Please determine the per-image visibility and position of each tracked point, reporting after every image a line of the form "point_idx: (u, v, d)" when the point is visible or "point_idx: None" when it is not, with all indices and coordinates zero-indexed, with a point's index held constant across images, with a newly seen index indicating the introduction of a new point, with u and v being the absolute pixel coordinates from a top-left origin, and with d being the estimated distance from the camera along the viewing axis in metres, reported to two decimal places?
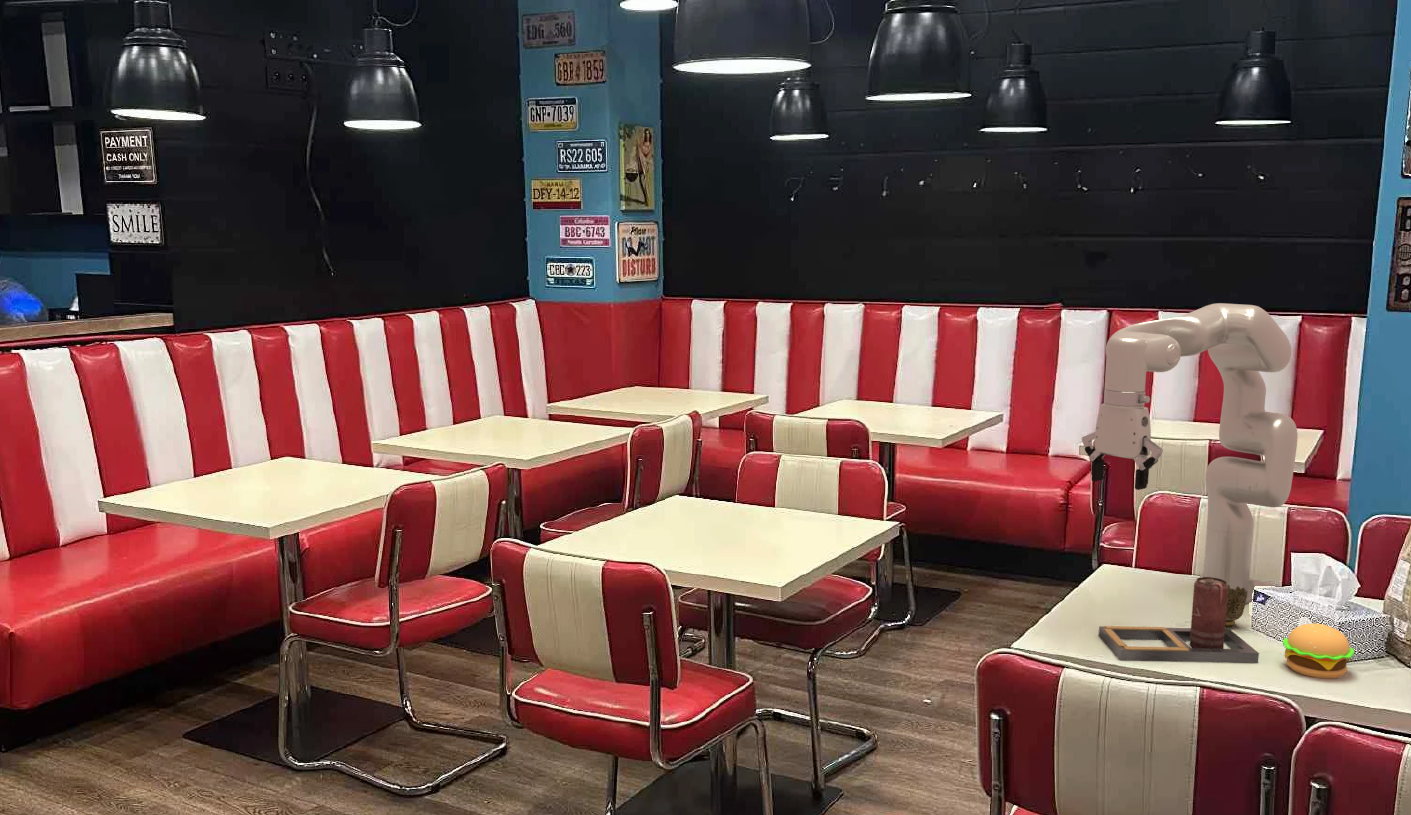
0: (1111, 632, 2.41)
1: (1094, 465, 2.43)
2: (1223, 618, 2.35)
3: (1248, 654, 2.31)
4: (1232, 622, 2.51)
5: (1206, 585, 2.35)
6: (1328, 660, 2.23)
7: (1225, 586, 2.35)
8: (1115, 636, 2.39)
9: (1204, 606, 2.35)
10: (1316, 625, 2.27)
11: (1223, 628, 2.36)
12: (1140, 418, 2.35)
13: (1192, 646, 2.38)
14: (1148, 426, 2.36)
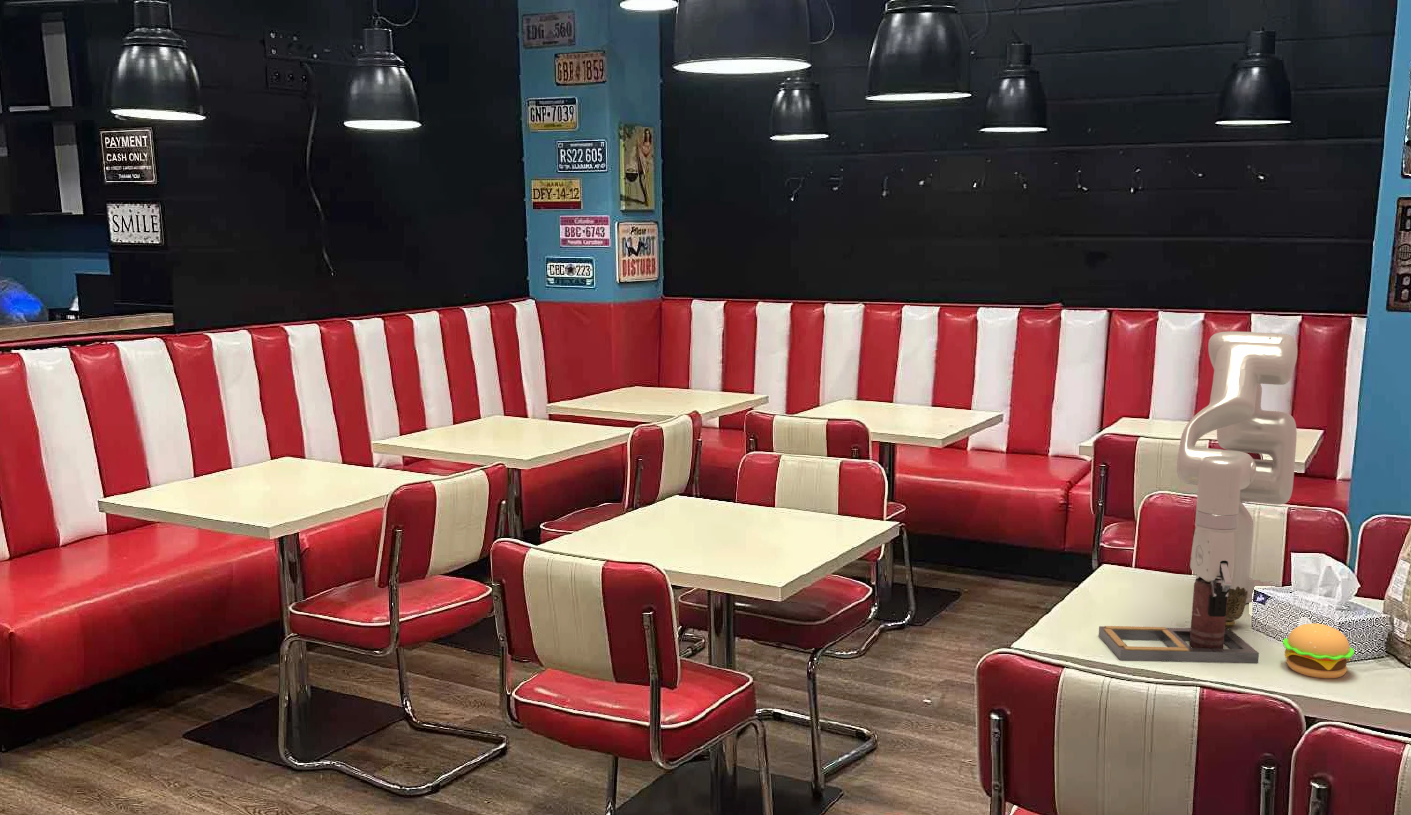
0: (1111, 632, 2.41)
1: None
2: (1223, 618, 2.35)
3: (1248, 654, 2.31)
4: (1232, 622, 2.51)
5: (1206, 585, 2.35)
6: (1328, 660, 2.23)
7: None
8: (1115, 636, 2.39)
9: (1204, 606, 2.35)
10: (1316, 625, 2.28)
11: (1223, 628, 2.36)
12: None
13: (1192, 646, 2.38)
14: None
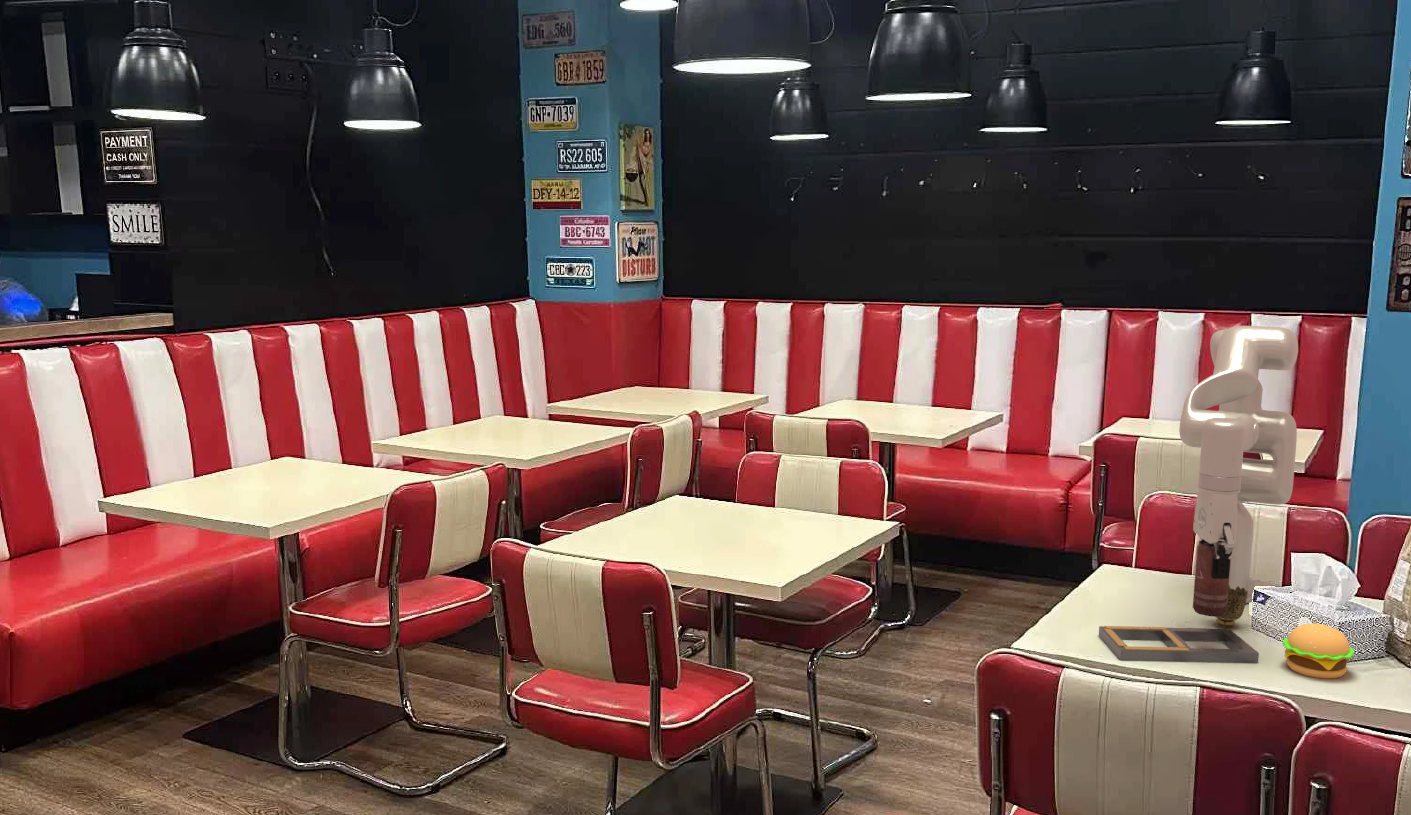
0: (1111, 632, 2.41)
1: None
2: (1226, 580, 2.35)
3: (1248, 654, 2.31)
4: (1232, 622, 2.51)
5: (1209, 547, 2.34)
6: (1328, 660, 2.23)
7: None
8: (1115, 636, 2.39)
9: (1207, 569, 2.34)
10: (1316, 625, 2.27)
11: (1226, 590, 2.35)
12: None
13: (1195, 609, 2.38)
14: None
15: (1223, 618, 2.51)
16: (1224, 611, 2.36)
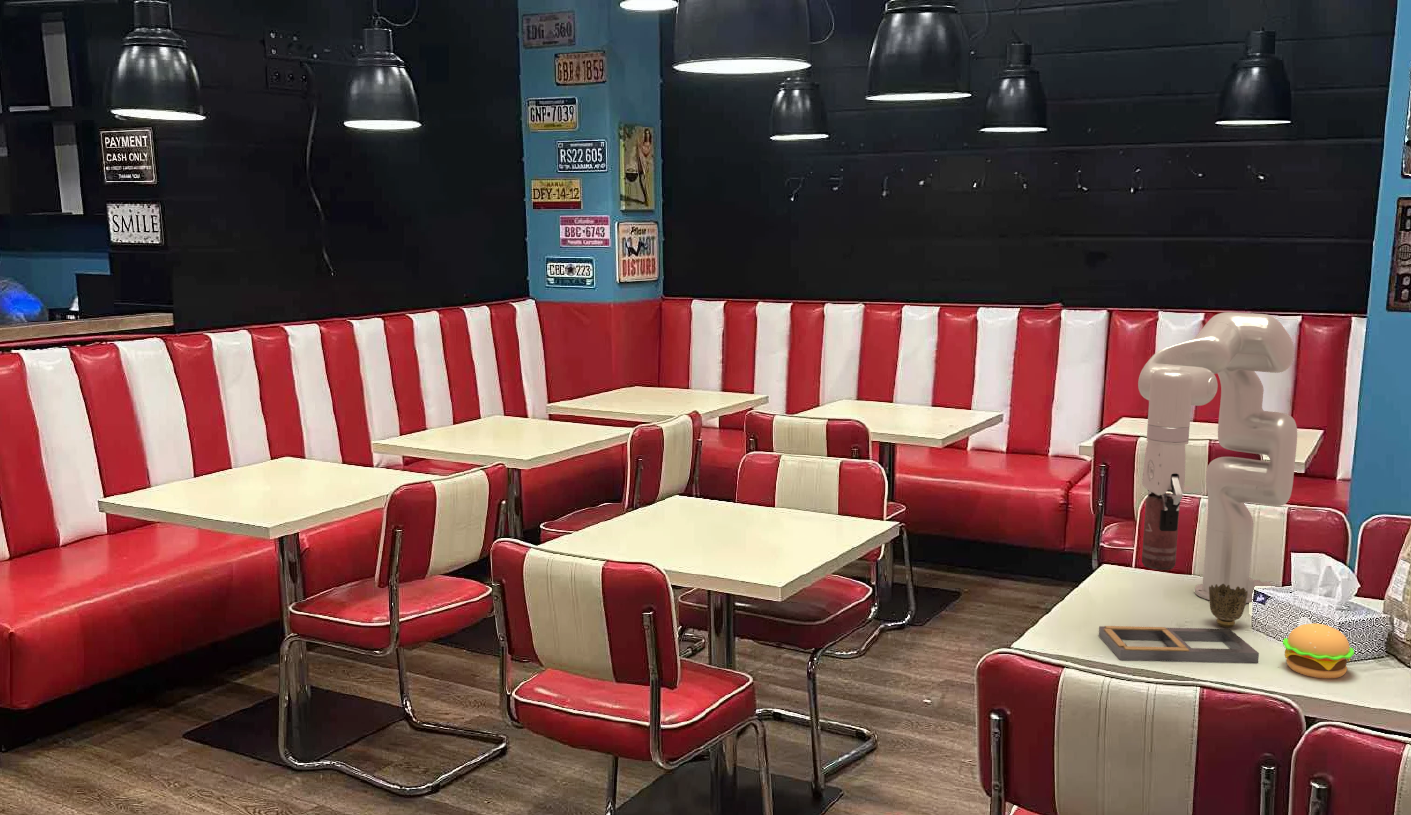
0: (1111, 632, 2.41)
1: None
2: (1175, 533, 2.33)
3: (1248, 654, 2.31)
4: (1232, 622, 2.51)
5: (1157, 500, 2.32)
6: (1328, 660, 2.23)
7: None
8: (1115, 636, 2.39)
9: (1156, 521, 2.33)
10: (1316, 625, 2.27)
11: (1175, 543, 2.34)
12: None
13: (1144, 562, 2.36)
14: None
15: (1223, 618, 2.51)
16: (1173, 564, 2.34)
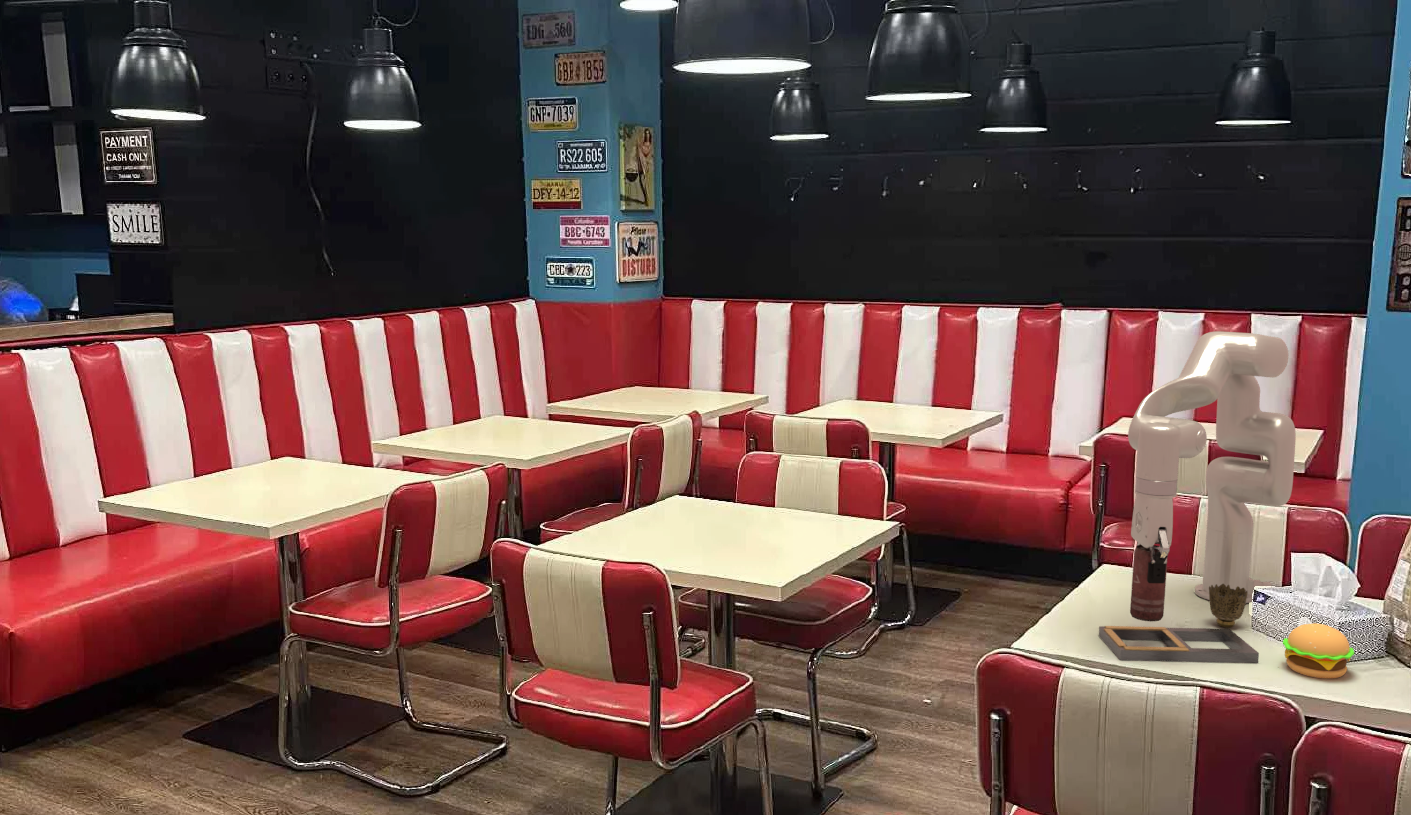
0: (1111, 632, 2.41)
1: None
2: (1162, 585, 2.35)
3: (1248, 654, 2.31)
4: (1232, 622, 2.51)
5: (1145, 552, 2.34)
6: (1328, 660, 2.23)
7: None
8: (1115, 636, 2.39)
9: (1143, 573, 2.34)
10: (1316, 625, 2.27)
11: (1163, 595, 2.35)
12: None
13: (1132, 613, 2.37)
14: None
15: (1223, 618, 2.51)
16: (1160, 616, 2.35)
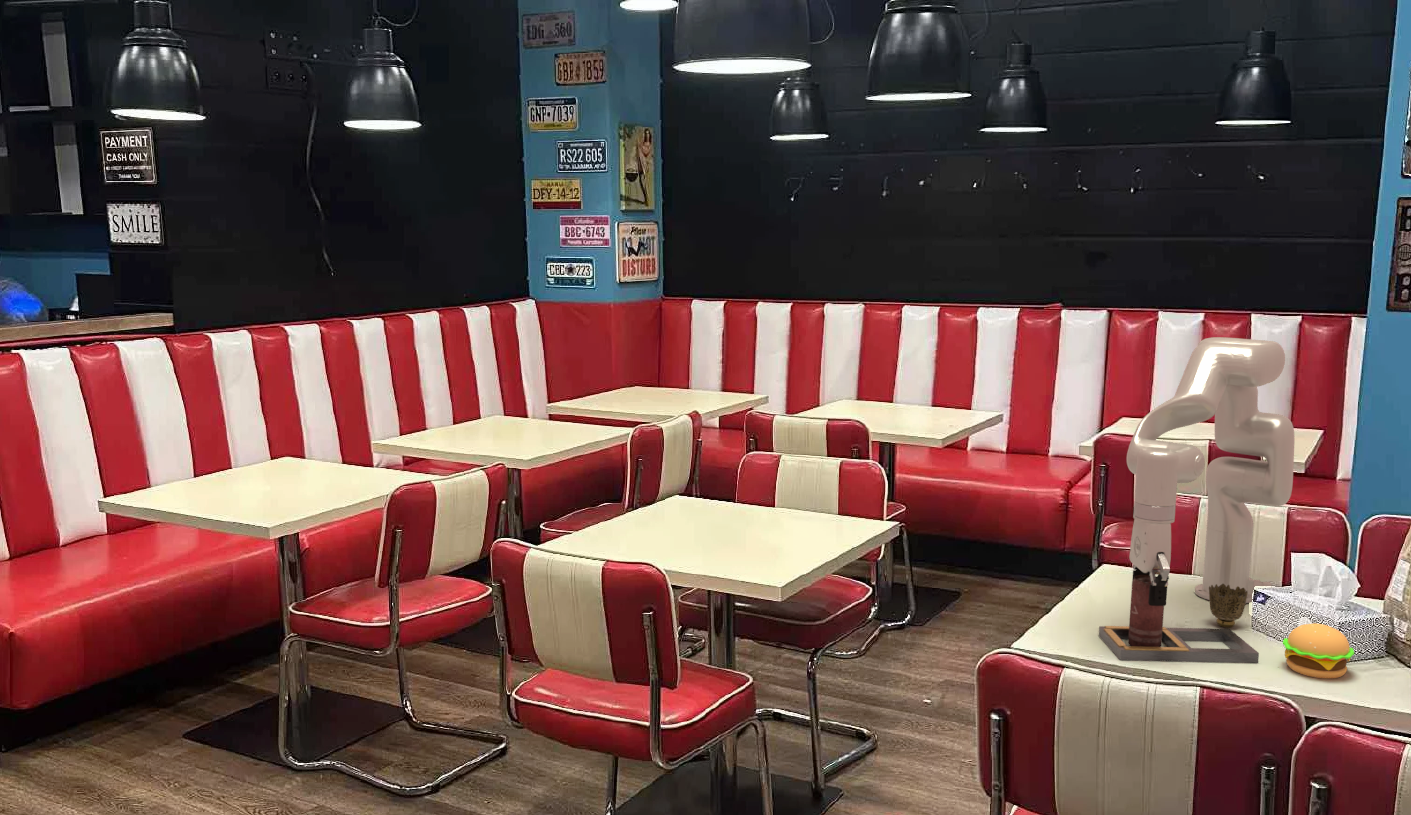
0: (1111, 632, 2.41)
1: None
2: (1160, 616, 2.36)
3: (1248, 654, 2.31)
4: (1232, 622, 2.51)
5: (1143, 583, 2.35)
6: (1328, 660, 2.23)
7: None
8: (1115, 636, 2.39)
9: (1141, 604, 2.36)
10: (1316, 625, 2.27)
11: (1160, 626, 2.37)
12: None
13: (1130, 644, 2.39)
14: None
15: (1223, 618, 2.51)
16: (1158, 646, 2.37)
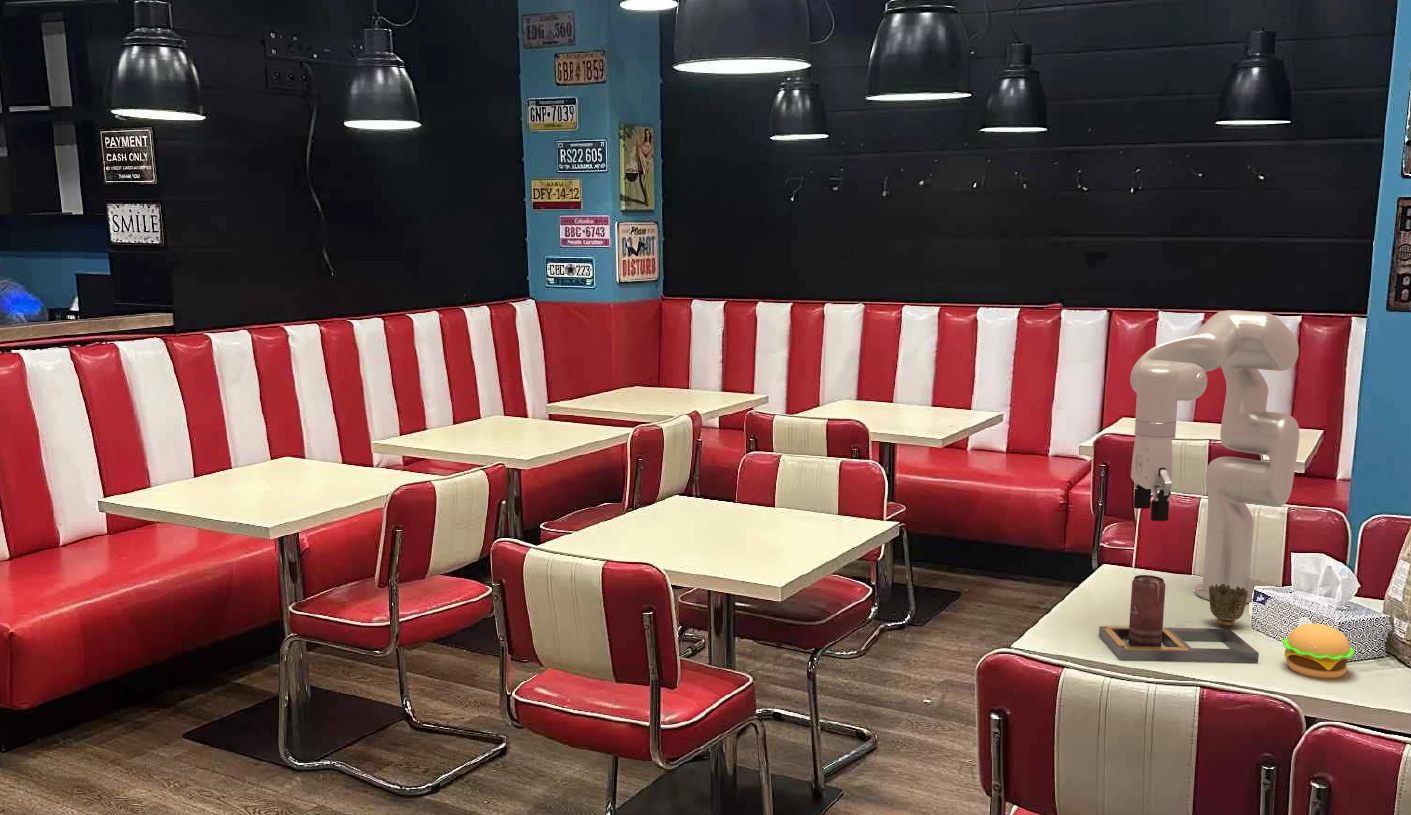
0: (1111, 632, 2.41)
1: None
2: (1160, 616, 2.36)
3: (1248, 654, 2.31)
4: (1232, 622, 2.51)
5: (1143, 583, 2.35)
6: (1328, 660, 2.23)
7: (1162, 584, 2.36)
8: (1115, 636, 2.39)
9: (1141, 604, 2.36)
10: (1316, 625, 2.27)
11: (1160, 626, 2.37)
12: None
13: (1130, 644, 2.39)
14: None
15: (1223, 618, 2.51)
16: (1158, 646, 2.37)
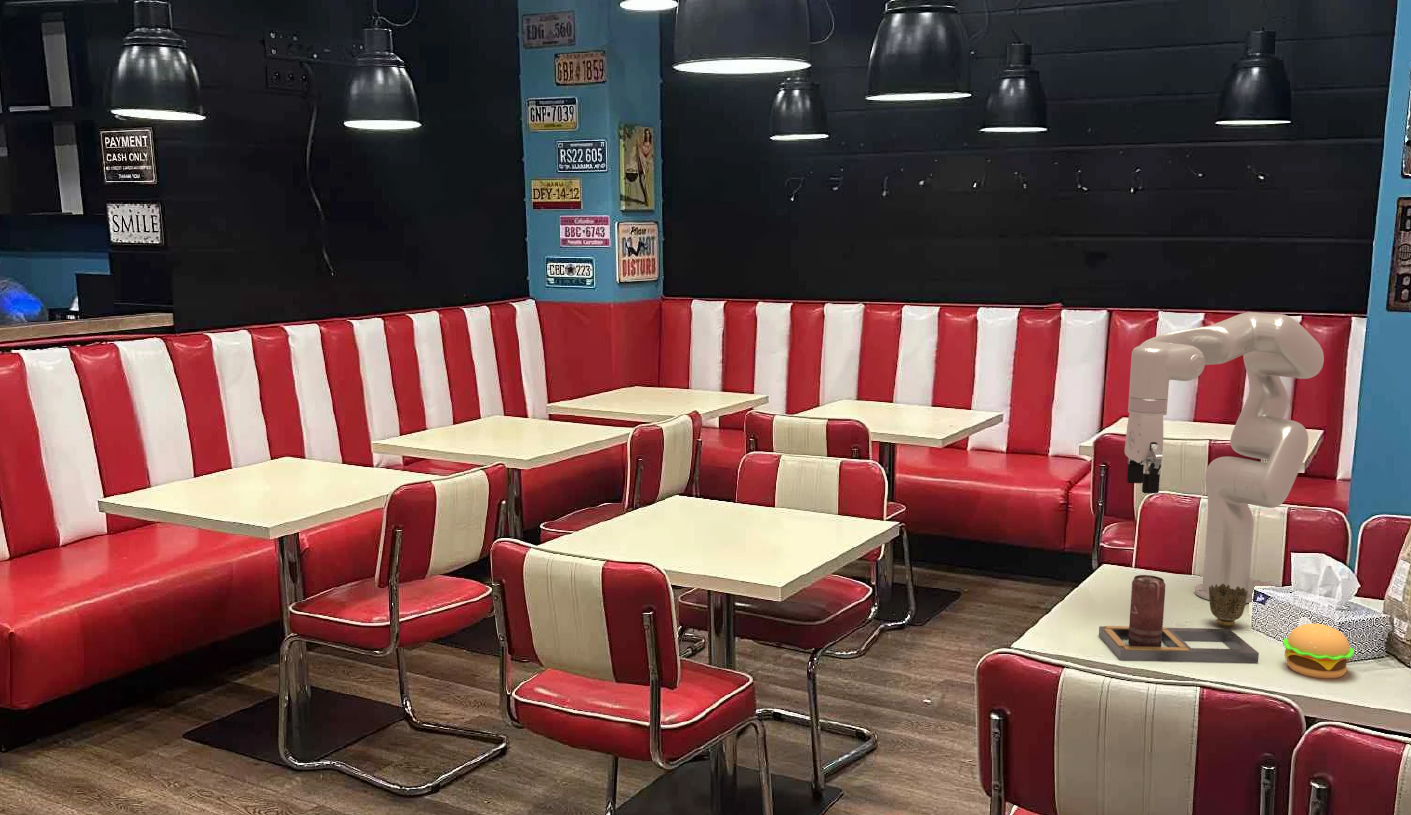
0: (1111, 632, 2.41)
1: None
2: (1160, 616, 2.36)
3: (1248, 654, 2.31)
4: (1232, 622, 2.51)
5: (1143, 583, 2.35)
6: (1328, 660, 2.23)
7: (1162, 584, 2.36)
8: (1115, 636, 2.39)
9: (1141, 604, 2.36)
10: (1316, 625, 2.27)
11: (1160, 626, 2.37)
12: None
13: (1130, 644, 2.39)
14: None
15: (1223, 618, 2.51)
16: (1158, 646, 2.37)
